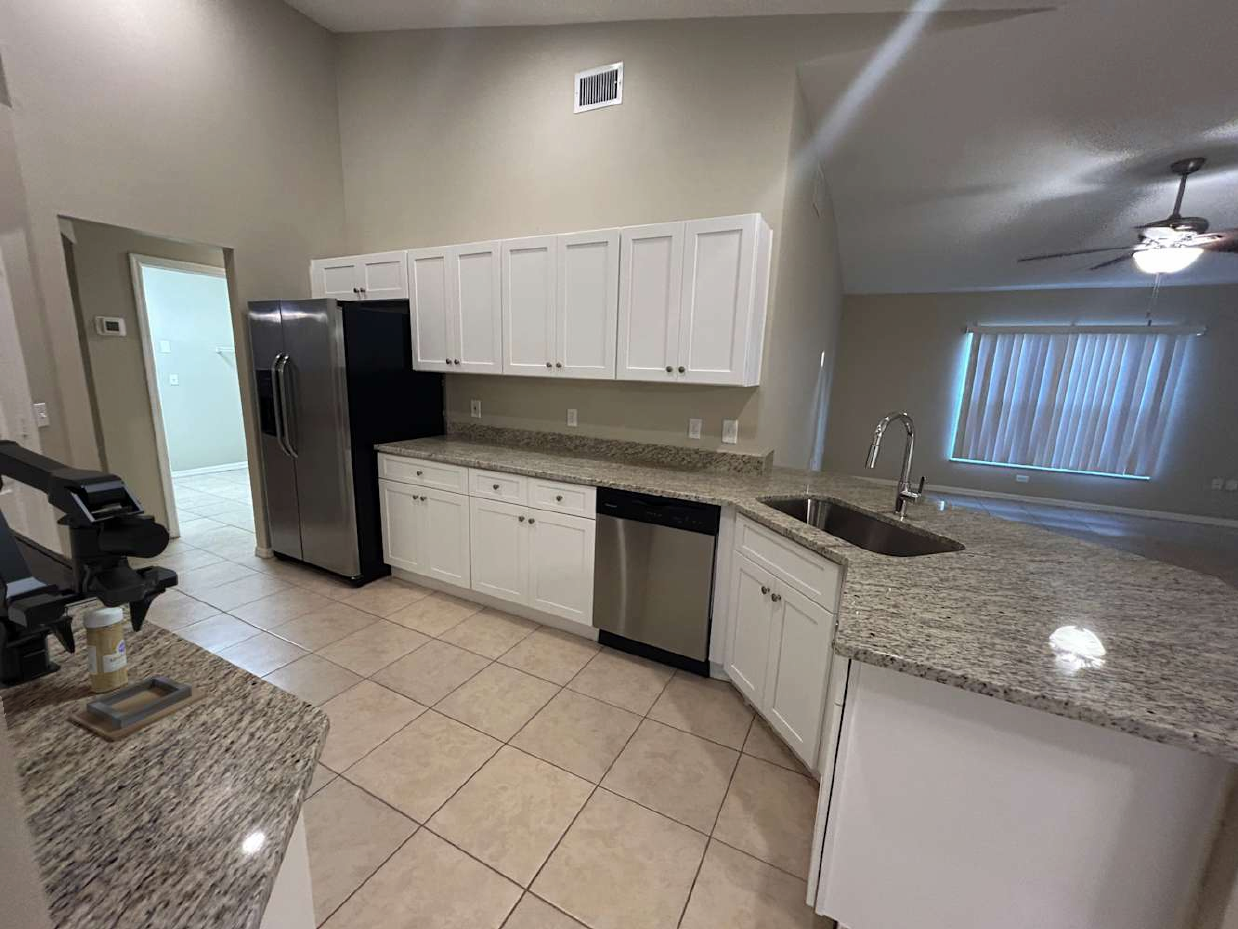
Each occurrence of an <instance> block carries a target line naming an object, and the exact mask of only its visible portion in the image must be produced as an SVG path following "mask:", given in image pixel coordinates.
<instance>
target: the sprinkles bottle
mask: <svg viewBox="0 0 1238 929" xmlns="http://www.w3.org/2000/svg"><path fill="white" fill-rule="evenodd" d="M123 611H124V610H123V608H122V607H121V606H119V607H115V608H108V607H106V606H104V607H99V608H96V609H95V608H94V609H92V610H90V611H86V613H85V614H83V616H82V621H83V627H84V629H85V635H86V652H87V661H88V662H87V663H88V672H89V675H90V683H91V684H90V685H91V686H90V691H91V692H92V693H97V694H99V693H106V692H107V693H108V692H111V691H113V690H116V689H119V688H121V687H123V686H124V685H126V684H127V683H128V682H129V677H128V670H127V652H126V643H125V637H124V628H123V619H124V612H123Z"/></svg>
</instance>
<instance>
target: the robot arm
mask: <svg viewBox="0 0 1238 929" xmlns="http://www.w3.org/2000/svg"><path fill="white" fill-rule="evenodd" d="M2 476H5V477H7V478H9V479H12V480H14V481H17V482H18V483H22V484H24V485H27V486H29V487H30V488H33V489H35V490H37V491H40V492H42V493H44V494H46V498H47V503H49V504H50V505H52V506H53V507H55V508H56V509H58V510H60V511H61V512H63V514H64V515H63V516H62V517H60V518H59V519H58V520H57V521H56V524H57V525H59V526H68V535H69V545H70V546H69V547H70V554H71V558H68V559H67V563H68V566H70V567H72V575H73V582H71V583H70V590H71V591H74V593H71V594H66V595H62V593H61V589H60V587H59V585H58V584H56V583H54V582H52V583H48V584H46V583H45V582H42V581H40V580H38V579H36V578H35V576H34V574H33V571H32V569H31V568H30V566H29V564H28V562H27V560H26V558H25V555H24V554H23V552H22V549H21V547H20V546H19V543H18V541H17V539H16V538H15V536H14V534H13V532H12V528H10V526H9V524H8V521H7V520H6V517H5V515H4V512H3V511H2V509H1V508H0V686H3V687H4V688H12V687H13V686H17V685H19V684H22V683H25V682H27V681H30V680H34V679H36V678H39V677H42V676H45V675H48V674H51V673H53V672H57V671H59V670H62V665H61V664H58V663H56V662H54V661H52V660H51V654H50V647H49V636H50V635H53V636H54V637H55V638H56V640H58V642H60V644H61V645H62V646H63V648H64V649H65V650H66V651H67V653H69V654H71V655H73V654H75V653H76V642H75V638H74V632H73V629H72V622H73V620H74V617H73V616H71V615H68V612H69V608H72V607H75V606H79V605H83V604H86V603H90V602H93V601H97V600H98V601H100V602H101V603H102V604H103V606H104V607H108V608H115V607H121V606H122V605H125V604H128V606H129V607H128V608H129V616H130V622H131V623H130V624H131V627H132V630H133V632H136V633H138V632H140V631H141V629H142V626H143V624H144V621H145V619H146V616H147V613H148V611H149V609H150V607H151V605H152V603H153V601H154V600H155V599H157V597H159V596H161V595H163V594H165V593H166V592H167V589H169V588H172V587H176V586H178V585H179V575H178V574H177V572H176V571H175V570H173V569H171V568H166V567H163V566H160V565H156V566H154V565H152V564H151V565H149V566H145V567H140V568H135V569H132V567H131V565H130V563H129V559H128V558H129V557H130V558H138V559H147V560H148V559H154V558H156V557H158V556H159V555H161V554H162V553H163V552H164V551H166V549H167V548H168V546H169V542H170V538H171V536H170V532H169V531H168V528H166V527H165V525H163V524H161V523H159V522H156V517H155V515H154V514H146V515H145V509H144V508H143V507H142V506H141V504H142V503H141V502H140V501H139V500H138V499H137V498H136V497H135V495H134V494H133V493H132V491H131V490H130V489H129V487H128V486H127V484H126V483H125V482H124V480H123V479H122V478H121V477H120V476H118V475H116V474H114V473H110V472H107V471H106V472H104V471H101V470H97V469H96V470H94V469H93V470H92V469H81V468H74V467H71V466H70V465H66V464H64V463H62V462H60V461H56V460H54V459H52V458H49V457H47V456H45V455H43V454H40V453H38V452H35V451H33V450H30V449H28V448H25V447H24V446H21V445H20V444H19V442H17V441H15V440H10V439H7V438H5V439H0V494H1V492H2V489H3V487H4V485H5V484H4V483H5V482H4V480H3V477H2Z"/></svg>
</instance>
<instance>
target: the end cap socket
mask: <svg viewBox="0 0 1238 929" xmlns="http://www.w3.org/2000/svg"><path fill="white" fill-rule="evenodd" d="M208 697H209V694H208V692H206V691H203V690H201V689H198V688H195V687H193V686H191V685H188V684H185V683H183V682H181V681H179V680H176V679H173V678H171V677H169V676H166V675H161V674H158V673H157V674H154V675H152V676H149V677H147V678H145V679H142V680H140V681H137V682H136V683H133V684H131V685H128V686H126V687H122V688H121V689H118V690H116V691H114V692H111V693H108V694H107V695H104V696H101V697H99V698H96V699H94V700H92V701H89V702H87V703H86V707H85V708H84V709H81V710H78V711H76V712H73V713H71V714H69V715H68V719H69V720H71V721H73V722H75V723H77V724H79V725H81V726H82V727H85V728H87V729H89V730H90V731H92V730H93V731H92V732H94V731H95V733H96V732H97V733H96V734H99V735H101V736H102V737H104V738H106V739H109V740H111V742H114V743H115V742H117V741H119V740H121V739H123V738H126V737H127V736H129V735H131V734H133V733H135V732H137V731H139V730H141V729H144V728H145V727H148V726H150V725H152V724H154V723H156V722H158V721H160V720H162V719H164V718H166V717H168V716H171V715H173V714H174V713H177V712H179V711H180V710H183V709H185V708H186V707H189V706H191V705H193V704H195V703H197V702H199V701H201V700H204V699H206V698H208Z"/></svg>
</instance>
